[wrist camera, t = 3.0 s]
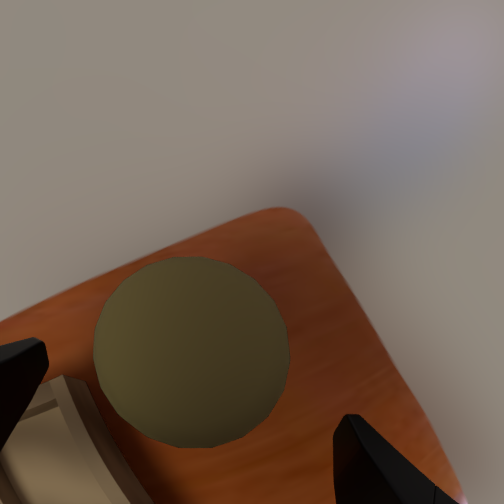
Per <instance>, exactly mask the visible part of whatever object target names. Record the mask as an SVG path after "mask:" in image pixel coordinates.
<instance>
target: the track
mask: <svg viewBox="0 0 504 504" xmlns="http://www.w3.org/2000/svg"><path fill="white" fill-rule="evenodd" d="M0 504H155V503H154V502H153V501H152V499H151V498H150V497H149V495H148V494H147V492H146V491H145V490H144V488H143V487H142V485H141V484H140V482H139V481H138V479H137V478H136V476H135V475H134V473H133V472H132V470H131V468H130V467H129V465H128V464H127V462H126V460H125V459H124V457H123V455H122V454H121V452H120V450H119V449H118V447H117V445H116V443H115V441H114V440H113V438H112V436H111V434H110V432H109V430H108V428H107V427H106V425H105V423H104V421H103V419H102V417H101V415H100V413H99V410H98V408H97V406H96V404H95V402H94V400H93V398H92V395H91V393H90V391H89V388H88V386H87V384H86V381H83V380H79V379H75V378H72V377H69V376H65V375H61V376H59V377H56V378H54V379H52V380H50V381H48V382H45V383H43V384H41V385H39V387H38V389H37V391H36V393H35V395H34V397H33V399H32V401H31V402H30V404H29V406H28V408H27V409H26V411H25V412H24V414H23V415H22V417H21V419H20V420H19V422H18V423H17V425H16V427H15V428H14V430H13V432H12V433H11V435H10V437H9V438H8V440H7V442H6V444H5V445H4V447H3V449H2V451H1V452H0Z"/></svg>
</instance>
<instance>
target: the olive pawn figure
mask: <svg viewBox="0 0 504 504" xmlns="http://www.w3.org/2000/svg"><path fill="white" fill-rule="evenodd" d="M93 360H94V365H95V368H96V372H97V376H98V380H99V383H100V387H101V389H102V391H103V392H104V394H105V395H106V397H107V398H108V400H109V401H110V403H111V404H112V406H113V407H114V409H115V410H116V412H117V413H118V415H120V416H121V417H122V418H123V419H124V420H126V421H127V422H128V423H129V424H131V425H132V426H133V427H135V428H136V429H137V430H139V431H140V432H141V433H143V434H144V435H145V436H147V437H149V438H151V439H154V440H157V441H160V442H163V443H166V444H169V445H172V446H175V447H178V448H213V447H216V446H219V445H222V444H225V443H228V442H230V441H233V440H236V439H239V438H241V437H243V436H245V435H246V434H247V433H248V432H250V431H251V430H252V429H254V428H255V427H256V426H257V425H259V424H260V423H261V422H262V421H263V420H265V419H266V418H267V417H268V416H269V414H270V412H271V411H272V409H273V408H274V406H275V404H276V403H277V401H278V399H279V398H280V396H281V394H282V393H283V391H284V387H285V383H286V378H287V374H288V369H289V364H290V352H289V343H288V335H287V327H286V325H285V323H284V321H283V319H282V317H281V315H280V312H279V310H278V308H277V306H276V304H275V302H274V300H273V299H272V298H271V297H270V296H269V295H268V294H267V292H266V291H265V290H264V289H263V288H262V287H261V286H260V285H259V284H258V283H257V281H256V280H255V279H253V278H252V277H250V276H248V275H247V274H245V273H243V272H242V271H240V270H238V269H237V268H235V267H233V266H232V265H230V264H227V263H223V262H220V261H216V260H212V259H209V258H205V257H172V258H169V259H166V260H162V261H159V262H156V263H153V264H149V265H146V266H145V267H143V268H142V269H140V270H139V271H137V272H136V273H134V274H133V275H131V276H130V277H128V278H127V279H125V280H124V281H123V282H122V283H121V284H120V285H119V287H118V288H117V289H116V290H115V291H114V293H113V294H112V295H111V296H110V297H109V299H108V300H107V301H106V302H105V305H104V307H103V310H102V312H101V315H100V317H99V320H98V322H97V325H96V327H95V333H94V348H93Z"/></svg>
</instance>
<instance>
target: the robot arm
mask: <svg viewBox="0 0 504 504" xmlns="http://www.w3.org/2000/svg"><path fill="white" fill-rule="evenodd" d="M48 367H49V360H48V355H47V351H46V346H45V343H44V342H43V341H41V340H39V339H37V338H34V337H32V338H28V339H24V340H20V341H17V342H13V343H9V344H5V345H1V346H0V452H1V451H2V449H3V447H4V445H5V444H6V442H7V440H8V438H9V437H10V435H11V433H12V432H13V430H14V428H15V427H16V425H17V423H18V422H19V420H20V419H21V417H22V415H23V414H24V412H25V411H26V409H27V408H28V406H29V404H30V402H31V401H32V399H33V397H34V395H35V393H36V391H37V389H38V387H39V385H40V383H41V381H42V379H43V377H44V376H45V374H46V372H47V370H48ZM333 477H334V489H335V497H336V504H459V503H457V502H456V501H455V500H453V499H452V498H451V497H450V496H448V495H447V494H446V493H445V492H443V491H442V490H441V489H440V488H439V487H438V486H435V484H434V483H433V482H432V481H431V480H429V479H428V478H427V477H426V476H425V475H424V474H423V473H422V472H420V471H419V470H418V469H417V468H416V467H415V466H414V465H413V464H412V463H410V462H409V461H408V460H407V459H406V458H405V457H404V456H403V455H402V454H401V453H399V452H398V451H397V450H396V449H395V448H394V447H393V446H392V445H391V444H390V443H389V442H388V441H386V440H385V439H384V438H383V437H382V436H381V435H380V434H379V433H378V432H377V431H376V430H375V429H374V428H373V427H372V426H371V425H370V424H369V423H367V422H366V421H365V420H364V419H363V418H362V417H361V416H360V415H358V414H346V415H345V416H344V417H343V418H342V420H341V421H340V423H339V425H338V427H337V428H336V430H335V432H334V435H333Z"/></svg>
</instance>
